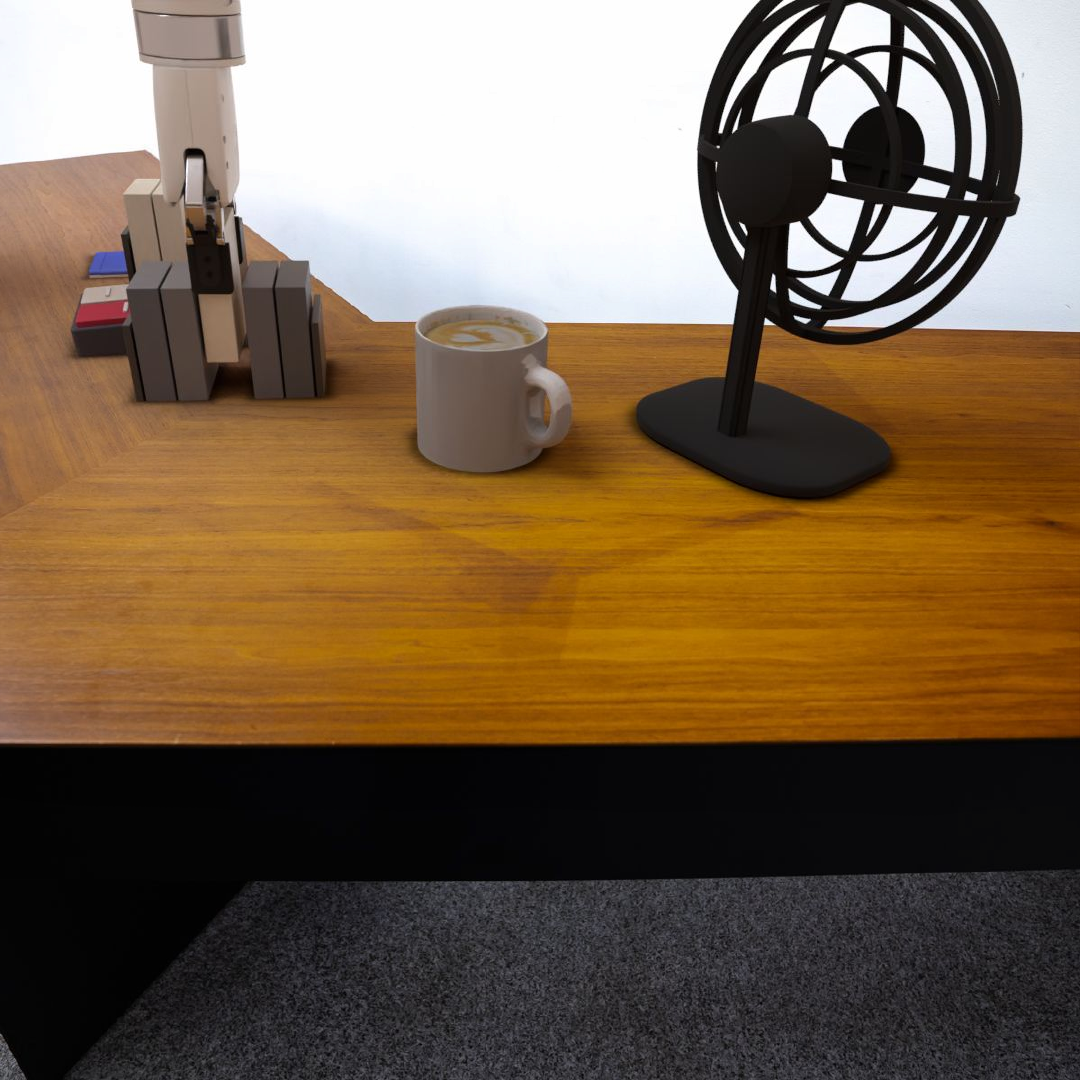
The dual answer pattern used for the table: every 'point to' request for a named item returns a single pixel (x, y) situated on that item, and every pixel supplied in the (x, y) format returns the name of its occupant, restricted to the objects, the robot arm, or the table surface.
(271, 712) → the table surface
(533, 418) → the coffee mug
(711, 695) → the table surface
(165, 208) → the white books
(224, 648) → the table surface
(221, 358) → the white book
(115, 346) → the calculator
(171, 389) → the grey books
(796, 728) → the table surface
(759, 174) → the desk fan
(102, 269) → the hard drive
